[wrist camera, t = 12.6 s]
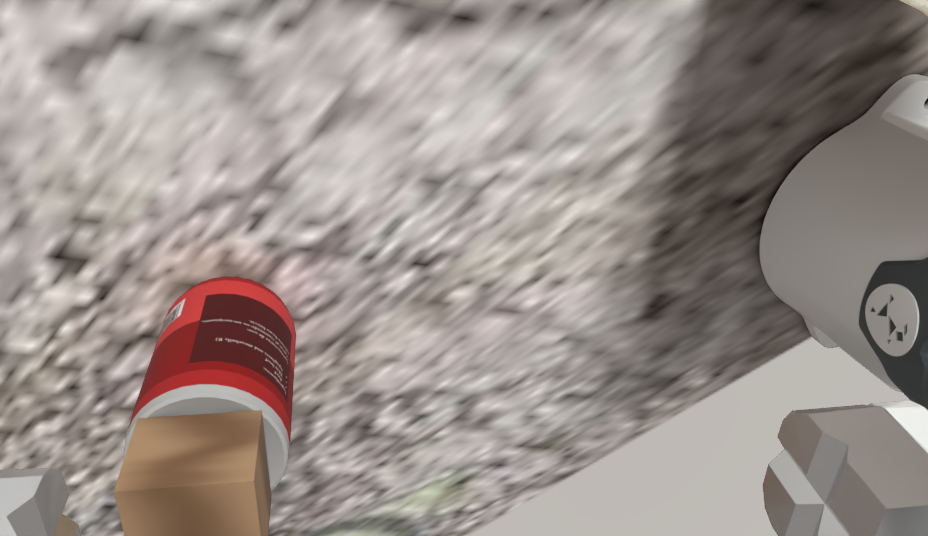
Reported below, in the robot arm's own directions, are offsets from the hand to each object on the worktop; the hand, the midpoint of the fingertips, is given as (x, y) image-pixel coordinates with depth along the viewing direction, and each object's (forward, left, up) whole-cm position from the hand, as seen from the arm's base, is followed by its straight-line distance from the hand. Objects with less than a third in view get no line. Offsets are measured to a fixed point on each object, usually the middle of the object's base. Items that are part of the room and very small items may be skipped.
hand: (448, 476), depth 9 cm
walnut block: (+8, +20, -22) cm, 31 cm away
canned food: (+8, +20, -33) cm, 40 cm away
